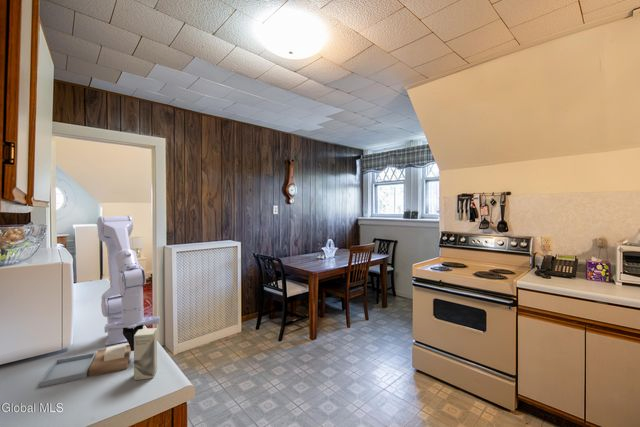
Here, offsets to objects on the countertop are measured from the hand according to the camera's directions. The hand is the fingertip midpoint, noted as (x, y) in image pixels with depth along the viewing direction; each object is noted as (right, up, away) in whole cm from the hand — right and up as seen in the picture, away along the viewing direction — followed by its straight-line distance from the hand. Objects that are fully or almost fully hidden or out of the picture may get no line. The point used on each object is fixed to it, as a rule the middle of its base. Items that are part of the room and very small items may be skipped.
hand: (134, 349), depth 94 cm
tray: (-14, -3, -7) cm, 16 cm away
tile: (-4, -1, -2) cm, 5 cm away
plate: (-5, -3, -2) cm, 7 cm away
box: (+9, -4, -9) cm, 13 cm away
